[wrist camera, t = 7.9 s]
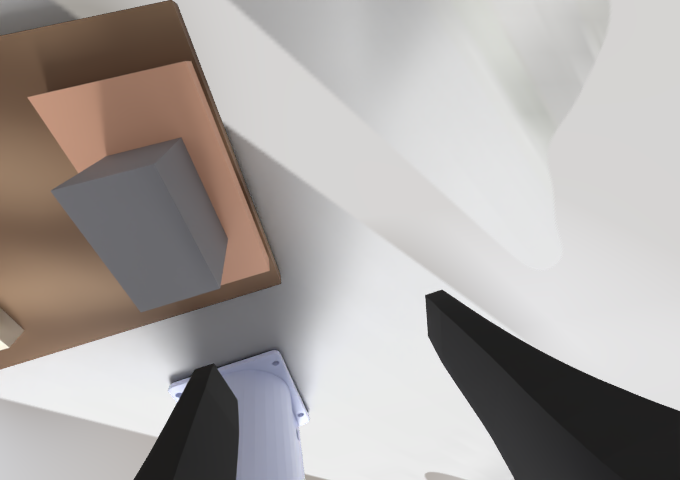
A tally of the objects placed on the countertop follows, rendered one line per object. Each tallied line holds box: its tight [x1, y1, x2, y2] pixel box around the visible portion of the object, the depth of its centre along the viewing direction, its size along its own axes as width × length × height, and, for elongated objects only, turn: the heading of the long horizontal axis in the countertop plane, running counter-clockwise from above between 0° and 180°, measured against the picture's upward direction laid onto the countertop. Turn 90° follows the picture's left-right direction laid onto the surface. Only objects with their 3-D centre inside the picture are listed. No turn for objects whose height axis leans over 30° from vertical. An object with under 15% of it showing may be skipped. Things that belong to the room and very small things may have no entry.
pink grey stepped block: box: [27, 61, 270, 312], centre depth 13 cm, size 10×6×5 cm, turn 12°
